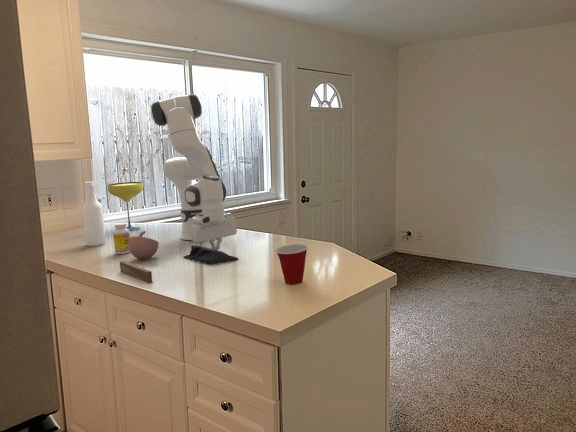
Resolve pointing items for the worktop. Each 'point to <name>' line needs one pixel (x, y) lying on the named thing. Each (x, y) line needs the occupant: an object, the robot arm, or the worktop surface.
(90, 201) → the alcohol
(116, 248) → the supplement bottle
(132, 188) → the cocktail glass
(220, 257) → the dark slate chunk
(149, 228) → the worktop surface
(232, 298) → the worktop surface
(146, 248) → the mortar and pestle
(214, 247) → the robot arm
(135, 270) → the brown wooden bar
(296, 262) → the plastic cup
